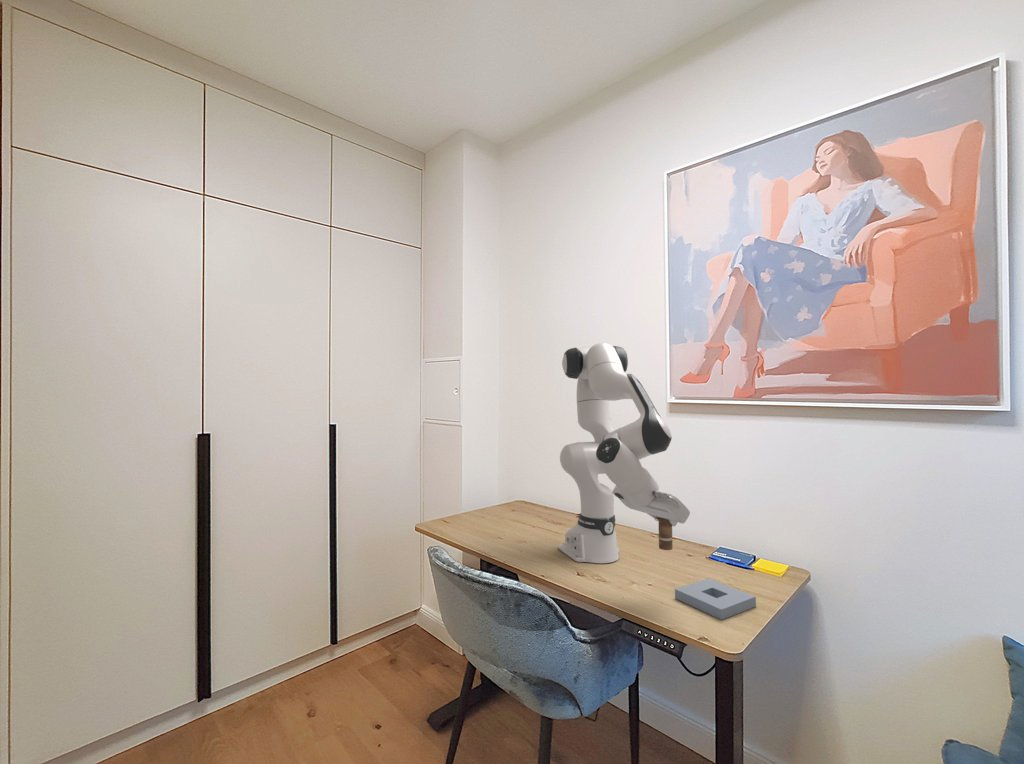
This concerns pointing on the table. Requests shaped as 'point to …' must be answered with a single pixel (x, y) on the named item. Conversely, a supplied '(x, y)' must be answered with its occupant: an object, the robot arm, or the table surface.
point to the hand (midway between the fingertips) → (667, 521)
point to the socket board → (715, 598)
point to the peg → (665, 534)
